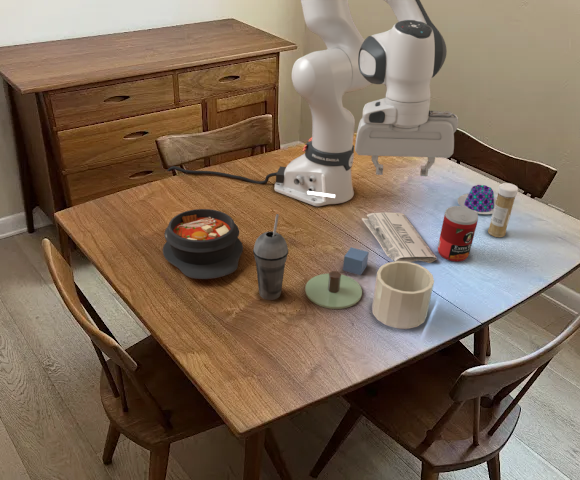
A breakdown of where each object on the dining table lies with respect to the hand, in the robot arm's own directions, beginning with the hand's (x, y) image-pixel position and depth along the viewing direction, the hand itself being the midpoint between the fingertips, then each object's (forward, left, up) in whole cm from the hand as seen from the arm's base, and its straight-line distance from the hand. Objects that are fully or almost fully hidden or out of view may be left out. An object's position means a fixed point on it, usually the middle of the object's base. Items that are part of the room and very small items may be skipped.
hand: (401, 174), depth 129 cm
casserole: (-40, -17, -23) cm, 49 cm away
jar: (+8, -17, -23) cm, 30 cm away
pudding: (+14, +40, -23) cm, 48 cm away
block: (-6, -6, -23) cm, 25 cm away
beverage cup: (-19, -24, -23) cm, 38 cm away
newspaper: (-1, +11, -23) cm, 26 cm away
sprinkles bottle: (+21, +27, -23) cm, 41 cm away
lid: (-7, -17, -23) cm, 29 cm away
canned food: (+13, +12, -23) cm, 29 cm away
